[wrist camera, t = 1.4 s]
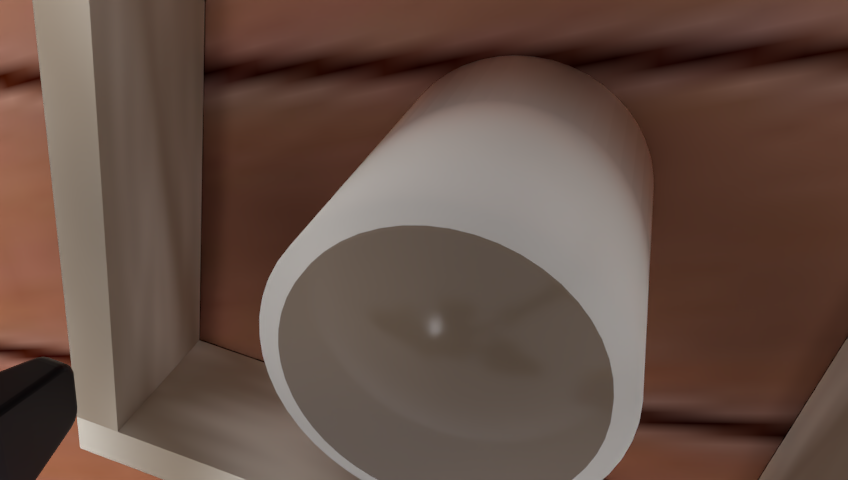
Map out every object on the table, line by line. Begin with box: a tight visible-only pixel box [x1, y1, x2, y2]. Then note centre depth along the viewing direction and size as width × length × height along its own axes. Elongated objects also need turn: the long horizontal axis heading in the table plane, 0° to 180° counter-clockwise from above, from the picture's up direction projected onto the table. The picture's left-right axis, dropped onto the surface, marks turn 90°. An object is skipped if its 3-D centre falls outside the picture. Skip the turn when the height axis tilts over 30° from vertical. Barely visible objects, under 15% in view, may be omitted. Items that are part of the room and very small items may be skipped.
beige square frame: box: [32, 0, 848, 480], centre depth 16 cm, size 18×18×4 cm
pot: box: [259, 55, 654, 480], centre depth 14 cm, size 6×6×7 cm
